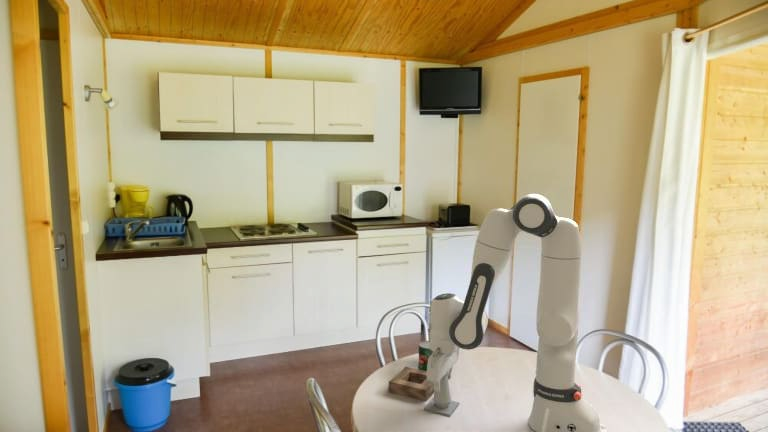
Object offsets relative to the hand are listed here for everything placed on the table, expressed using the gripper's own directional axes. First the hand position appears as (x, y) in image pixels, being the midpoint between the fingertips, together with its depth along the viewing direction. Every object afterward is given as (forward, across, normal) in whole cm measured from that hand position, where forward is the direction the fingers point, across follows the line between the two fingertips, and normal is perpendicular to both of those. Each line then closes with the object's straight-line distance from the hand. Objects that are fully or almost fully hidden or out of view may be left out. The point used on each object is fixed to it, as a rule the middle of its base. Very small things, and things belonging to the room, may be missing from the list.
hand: (442, 384), depth 164 cm
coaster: (+8, 0, 0) cm, 8 cm away
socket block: (+8, +8, +13) cm, 17 cm away
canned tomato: (+8, +23, +14) cm, 28 cm away
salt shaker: (+7, 0, 0) cm, 7 cm away
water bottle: (+8, +36, +15) cm, 40 cm away
